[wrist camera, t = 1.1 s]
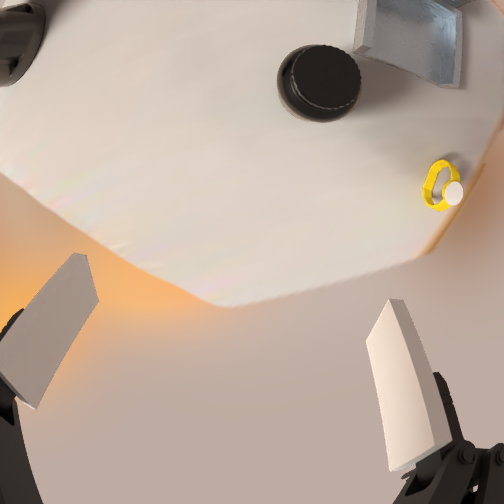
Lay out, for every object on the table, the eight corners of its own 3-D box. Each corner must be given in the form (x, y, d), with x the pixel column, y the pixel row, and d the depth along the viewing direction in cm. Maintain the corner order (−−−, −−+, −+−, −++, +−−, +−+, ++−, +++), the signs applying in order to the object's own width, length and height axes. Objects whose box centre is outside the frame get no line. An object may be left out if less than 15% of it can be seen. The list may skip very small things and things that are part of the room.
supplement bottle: (324, 54, 23) (352, 22, 13) (349, 109, 26) (392, 108, 16) (266, 75, 25) (260, 50, 15) (292, 130, 28) (303, 138, 17)
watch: (429, 202, 30) (451, 223, 25) (413, 195, 30) (434, 215, 25) (446, 161, 27) (472, 175, 22) (430, 152, 27) (455, 165, 22)
